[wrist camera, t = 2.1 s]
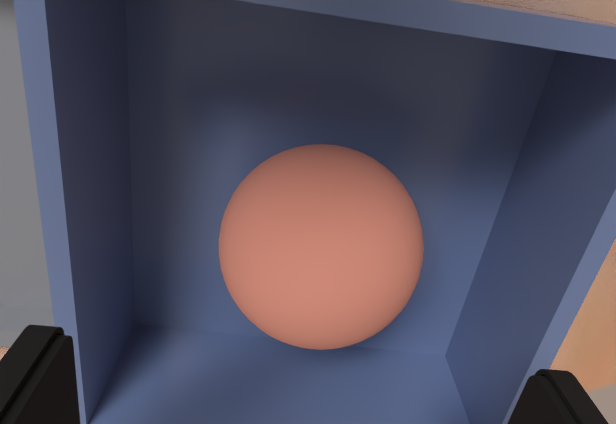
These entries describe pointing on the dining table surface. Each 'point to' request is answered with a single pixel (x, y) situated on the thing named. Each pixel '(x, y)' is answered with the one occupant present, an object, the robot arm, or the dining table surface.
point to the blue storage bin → (307, 131)
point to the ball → (321, 246)
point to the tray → (18, 200)
